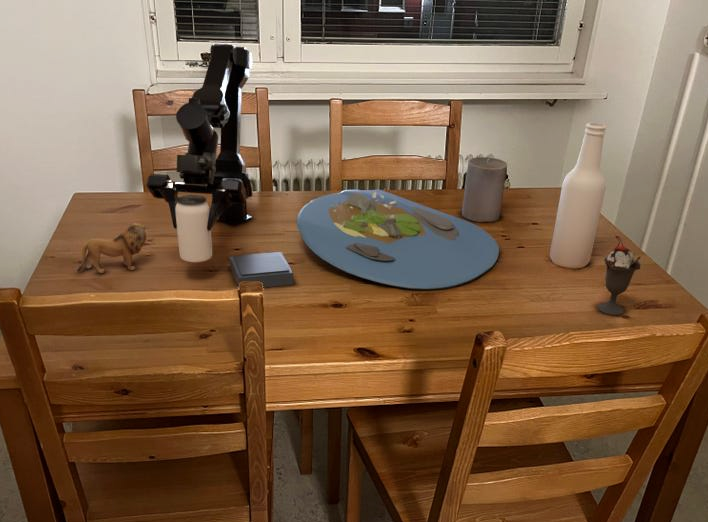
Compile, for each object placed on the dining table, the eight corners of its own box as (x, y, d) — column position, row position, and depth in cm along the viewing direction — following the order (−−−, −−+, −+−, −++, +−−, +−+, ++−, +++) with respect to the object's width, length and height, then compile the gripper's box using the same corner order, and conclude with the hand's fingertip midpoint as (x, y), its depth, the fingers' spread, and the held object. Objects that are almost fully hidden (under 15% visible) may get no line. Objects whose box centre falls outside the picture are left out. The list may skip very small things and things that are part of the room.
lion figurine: (146, 258, 158) (142, 218, 154) (152, 267, 154) (147, 227, 150) (75, 268, 153) (68, 227, 148) (79, 278, 149) (72, 236, 144)
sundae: (587, 301, 148) (603, 231, 140) (620, 301, 148) (637, 231, 140) (600, 317, 142) (617, 244, 134) (633, 317, 143) (652, 244, 135)
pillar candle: (472, 206, 194) (479, 149, 186) (506, 215, 189) (515, 157, 181) (454, 216, 187) (461, 157, 179) (489, 225, 182) (497, 165, 174)
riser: (230, 268, 156) (229, 254, 154) (281, 263, 159) (281, 250, 157) (239, 290, 147) (238, 276, 145) (293, 284, 150) (293, 271, 148)
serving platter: (525, 271, 172) (541, 223, 165) (408, 331, 144) (421, 276, 137) (383, 197, 194) (391, 152, 187) (257, 237, 166) (261, 186, 159)
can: (205, 265, 145) (201, 207, 139) (174, 261, 146) (168, 203, 140) (217, 252, 151) (213, 196, 144) (187, 249, 152) (182, 192, 145)
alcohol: (546, 265, 163) (571, 126, 147) (551, 250, 170) (576, 117, 154) (587, 272, 160) (617, 131, 145) (590, 257, 167) (620, 122, 152)
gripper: (143, 132, 140) (131, 208, 137) (240, 137, 139) (231, 214, 136) (160, 161, 151) (149, 232, 147) (250, 166, 150) (241, 238, 146)
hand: (191, 228), depth 144 cm, fingers closed on can, 6 cm apart
